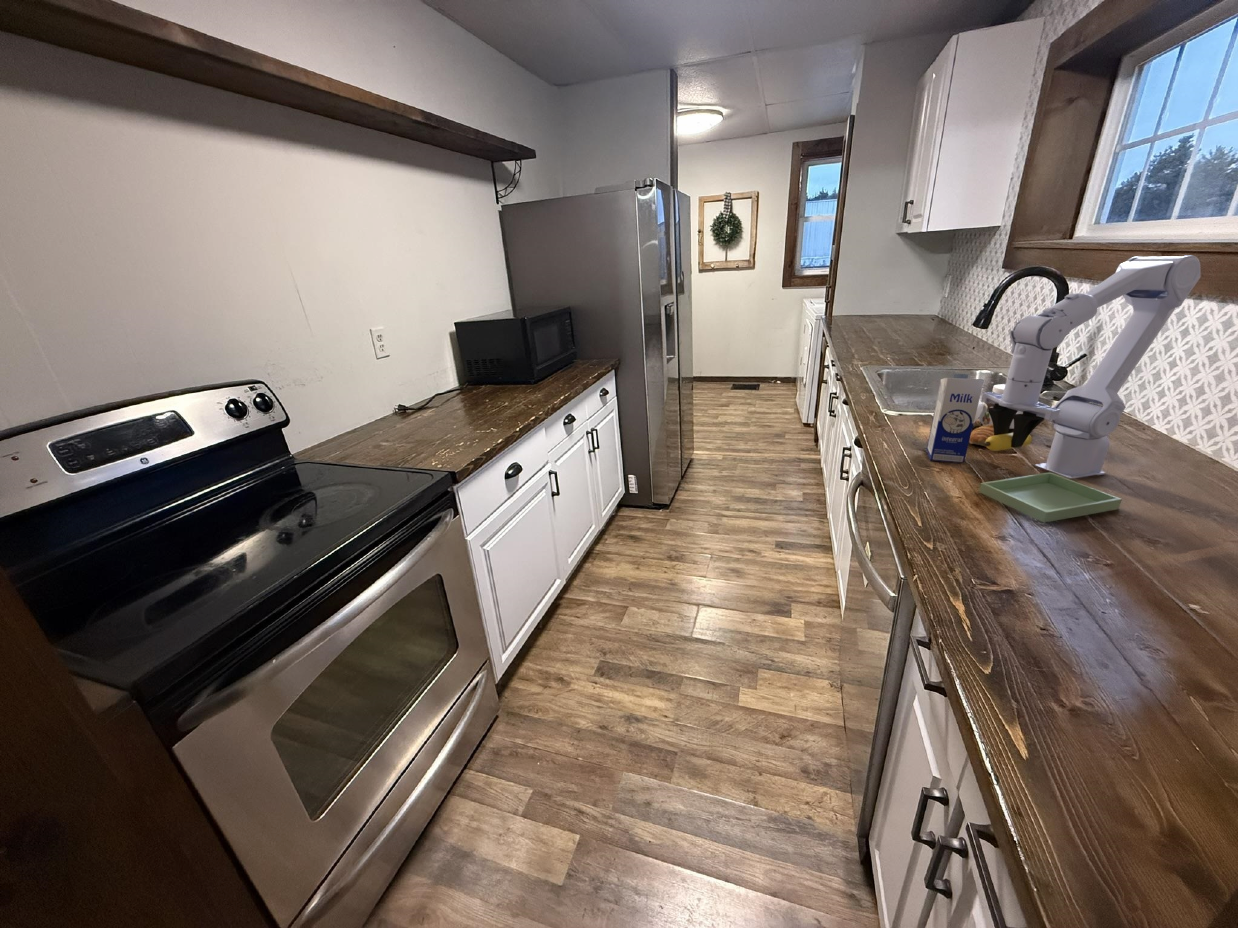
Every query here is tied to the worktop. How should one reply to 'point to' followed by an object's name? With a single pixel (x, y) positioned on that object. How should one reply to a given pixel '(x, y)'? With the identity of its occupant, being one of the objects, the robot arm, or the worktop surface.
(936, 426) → the milk carton
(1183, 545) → the worktop surface
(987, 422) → the spread jar
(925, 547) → the worktop surface
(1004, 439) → the banana
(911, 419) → the worktop surface
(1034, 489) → the tray
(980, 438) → the pastry
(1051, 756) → the worktop surface
